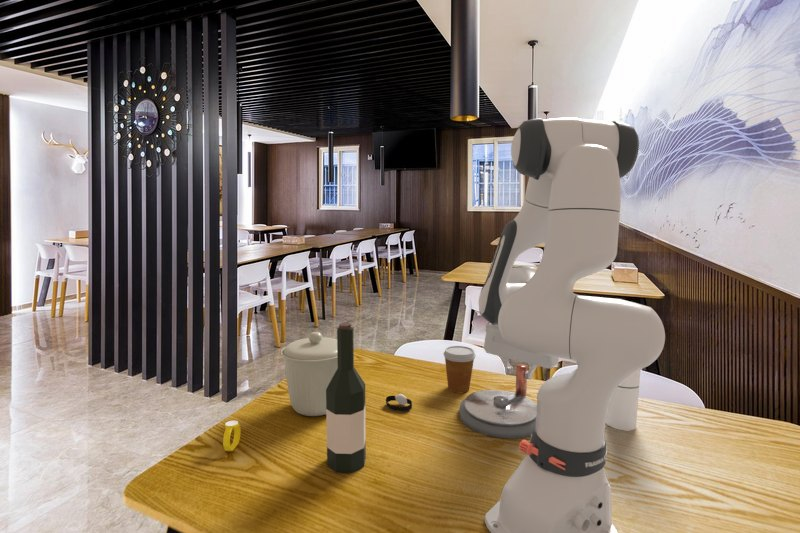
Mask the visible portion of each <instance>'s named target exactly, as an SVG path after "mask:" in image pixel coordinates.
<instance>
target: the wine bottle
mask: <svg viewBox="0 0 800 533" xmlns="http://www.w3.org/2000/svg"><path fill="white" fill-rule="evenodd" d="M354 334H355V333H354V327H353V326H352V323H351V322H350V323H349V322H340V323H339V326H338V327H337V328H336V339H337V359H338V369H337V370H336V372H335V374H334V376H333V377H332V379H331V381H330V383H329V385H328V387H327V389H326V415H325V416H326V462H327V464H326V465H327V467H328V468H330V469H331V470H332V471H334V472H335V473H336V474H352V473H354V472H356V471H359V470H360V469H362V468H364V467H365V465H366V464H365V463H366V455H367V454H366V452H367V449H366V446H367V445H366V442H367V441H366V439H367V438H366V437H367V436H366V435H367V434H366V433H367V432H366V420H367V419H366V383H365V381H364V380H363V378H362V377H361V376H360V374H359V372H358V371H357V369H356V368H355V363H354V362H355V360H354V359H355V358H354V357H355V356H354V355H355V354H354V348H355V347H354V343H355V342H354Z"/></svg>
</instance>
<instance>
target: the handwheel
mask: <svg viewBox="0 0 800 533" xmlns="http://www.w3.org/2000/svg"><path fill="white" fill-rule="evenodd" d="M527 371H528V365H526V364H523V363H519V364H516V373H515V374H516V375H515V392H514V391H509V390H500V389H483V390H478V391H475V392H473V393H470V394H469V395H467V396H466V397H465V398H464V399H465V410H466V412H467V413H468V414H469V415H470V416H472V417H473V418H475V419H477V420H479V421H481V422H484V423H488V424H492V425H497V426H508V427H512V426H522V425H526V424H529V423H531V422H533V421H534V420H535V419H536V414H537V403H536V402H535V401H533V400H532V399H531V398H529V397H527V385H528V384H527V383H528V379H526V378H525V372H527Z"/></svg>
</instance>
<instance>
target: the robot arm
mask: <svg viewBox="0 0 800 533" xmlns="http://www.w3.org/2000/svg"><path fill="white" fill-rule="evenodd" d="M639 148H640V140H639V135H638V133H637V131H636V129H635V127H633V126H632V125H631V124H628V123H625V122H621V121H616V120H612V121H604V120H596V119H587V118H586V119H585V118H583V119H582V118H578V117H557V118H556V117H555V118H547V119H543V118H542V117H538V118H531V119H528V120H524V121H522V122H521V124H520V125H519V126H518V127H517V129H516V132H515V134H514V135H513V138H512V140H511V146H510V155H511V160H512V163H513V164H512V165H513V168H514V169H515V170H516V171H517V172H518V173H519V174H521V175H523V176H526V177H528V180H527V185H526V189H525V196H524V201H523V205H522V206H521V208H520V210H519V212H518V214H517V215H516V216H515V217H514V219H512V220H510V221H508V222H507V223H506V224H505V226H504V228H503V230H502V232H501V235H500V237H499V239H498V244H497V245H496V249H495V252H494V256H493V259H492V261H491V264H490V267H489V271H488V274H487V277H486V280H485V282H484V283H483V285H482V288H481V290H480V293H479V297H478V311H479V314H480V315H481V317H483V318H484V319H485V320H486V321H487V323H486V325H485V338H484V345H483V350H484V351H485V353H487V354H489V355H494V356H497V357H501V363H502V364H503V366H504V374H508V375H511V374H513V373H514V366H512V365H511V364H510V362H509V361H510V360H513V361H517V362H522V363H526V364H528V368H529V370H527V372H525V378H526V379H527V380H532V379H533V377H534V376H533V374H534V372H535V370H536V369H537V367H542V368H545V369H553V368H555V367H557V365H558V364H559V359H563V360H564V359H566V360H569V361H570V360H571V361H573V362H575V363H576V364H577V367H576V368H575V369H574V370H572V371H569V372H567V373H563V374H559V375H556V376H555V375H554V376H553V377H550V378H549V379H547V380H545V381H544V382H543V383H542V384H541V385H540V386H539V389H538V391H537V395H536V405H537V414H536V426H535V428H534V430H533V433H532V435H531V436H530V441H528V440H526V439H522V440H521V441H519V442H520V443H519V445H518V448H519V450H520V452H523V453H525V454H526V455H525V457H524V458H523V459H522V461H521V462H520V463H519V464H518V465H517V468H516V469H515V471H514V472H513V473H512V474H511V476H510V477H509V479H508V480H507V482H506V483H505V485H504V486H503V488H502V490H501V495H500V499H499V500H498V501H497V502H496V503H495V504H494V505H493V506H492V507H491V508H490V509H489V510H488V511H487V512H486V513H485V515H484V524H485V525H486V527H487V530H488V531H489V533H619V532H618V530H617V529H616V526H614V524H613V517H612V516H613V515H612V513H613V512H612V511H613V509H612V508H613V504H612V487H611V484H610V481H609V479H608V478H607V475H606V472H605V468H604V467H605V465H606V462H607V461H606V459H607V455H608V454H607V453H608V449H607V441H606V439H605V430H606V416H607V410H608V405H609V402H610V399H611V397H612V395H613V393H614V391H615V390H616V388H617V387H618V386H619V384H620V383H621V382H622V381H623V380H625V379H626V378H627V377H628V376H630V375H631V374H633V373H634V372H636V371H638V370H640V369H641V370H643V369H645V368H646V367H649V366H650V365H651V364H653V363H654V362H655V361H656V360H658V358H659V357H660V355H661V353H662V351H663V350H664V346H665V341H666V332H665V331H666V330H665V327H664V324H663V321H662V319H661V318H660V316H659V315H658V313H657V312H656V311H655V310H654V309H653V308H652V307H651V306H647V305H644V304H641V303H637V302H634V301H629V300H625V299H623V298H613V297H612V298H611V297H603V296H601V297H600V296H593V295H592V296H590V295H580V294H577V293H574V286H575V284H576V283H577V282H578V281H580V280H581V279H583V278H586V277H588V276H591V275H593V274H596V273H598V272H601V271H603V270H605V269H607V268H608V267H610V266H611V265H612V264H613V262H614V261H615V260H616V258H617V255H618V244H619V231H620V230H619V228H620V216H621V196H622V195H621V194H622V192H621V179H622V178H623V177H625V176H626V175H627V174H628V173H630V172H631V171H632V169H633V168H634V166H635V164H636V162H637V159H638V155H639V150H640V149H639ZM540 245H544V246H543V252H542V256H541V259H540V262H539V264H538V267H535V266H532V265H515V266H514V264H515V262H516V259H517V258H518V257H519V256H520V255H521V254H522V253H524V252H526V251H528V250H529V249H533V248H535V247H537V246H540ZM641 370H640V371H641Z"/></svg>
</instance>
